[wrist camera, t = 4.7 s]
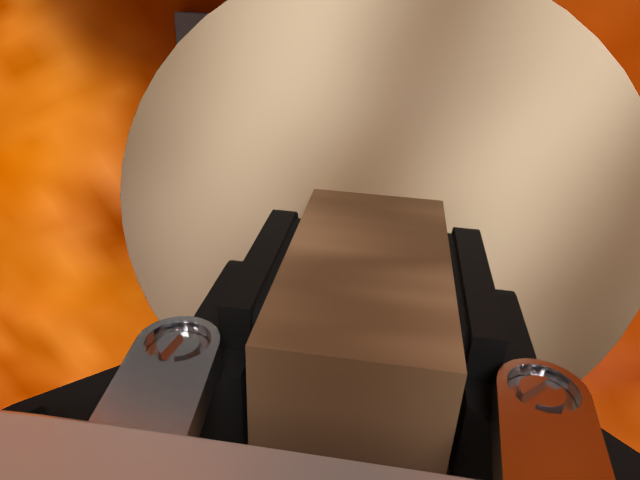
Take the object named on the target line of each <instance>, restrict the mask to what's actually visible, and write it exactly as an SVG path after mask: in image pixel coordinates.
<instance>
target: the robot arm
mask: <svg viewBox="0 0 640 480" xmlns="http://www.w3.org/2000/svg"><path fill="white" fill-rule="evenodd" d="M300 220H301V218H298V213H297V212H295V211H285V210H275V209H273V210H272V211H271V213H270V215H269V217H268V218H267V220H266V222H265V224H264V225H263V227H262V229H261V231H260V232H259V234H258V236H257V238H256V239H255V241H254V243H253V245H252V246H251V248H250V250H249V252H248V253H247V255H246V257H245V259H244V260H243V261H236V260H229V261H228V263H227V264H226V265H225V267H224V269H223V270H222V272H221V273H220V275H219V277H218V278H217V280H216V281H215V283H214V285H213V286H212V288H211V289H210V291H209V293H208V294H207V296H206V297H205V299H204V301H203V302H202V304H201V305H200V307H199V309H198V310H197V312H196V313H195V315H194V317H192V316H176V317H171V318H166V319H163V320H160V321H158V322H155V323H153V324H151V325H150V326H148V327H147V328H145V329H144V330H143V331H142V332H141V333H140V334H139V335H138V337H137V338H136V340H135V341H134V343H133V345H132V346H131V348H130V350H129V352H128V353H127V355H126V357H125V358H124V360H123V362H122V364H121V365H119V366H116V367H114V368H111V369H108V370H105V371H103V372H100V373H97V374H95V375H92V376H89V377H86V378H84V379H81V380H78V381H75V382H73V383H70V384H67V385H65V386H62V387H59V388H56V389H54V390H51V391H48V392H45V393H43V394H40V395H37V396H35V397H32V398H29V399H26V400H24V401H21V402H18V403H15V404H13V405H11V406H9V407H6V408H4V409H2V410H0V480H640V453H638V452H637V451H635V450H634V449H632V448H631V447H629V446H627V445H626V444H624V443H623V442H621V441H620V440H618V439H617V438H615V437H614V436H612V435H611V434H609V433H608V432H606V431H605V430H603V429H602V428H601V427H600V423H599V420H598V416H597V413H596V409H595V406H594V402H593V399H592V396H591V394H590V392H589V390H588V388H587V386H586V385H585V384H584V383H583V382H582V381H581V380H580V379H579V378H578V377H577V376H575V375H574V374H572V373H571V372H569V371H568V370H567V369H565V368H562V367H560V366H558V365H556V364H554V363H551V362H547V361H543V360H540V359H537V357H536V354H535V351H534V348H533V345H532V342H531V339H530V336H529V333H528V329H527V326H526V323H525V320H524V317H523V314H522V311H521V308H520V305H519V302H518V299H517V296H516V294H515V292H514V291H508V290H499V289H495V286H494V282H493V278H492V274H491V271H490V267H489V263H488V259H487V255H486V252H485V248H484V244H483V240H482V237H481V233H480V230H479V229H469V228H458V227H453V229H452V233H447V234H448V241H449V248H450V255H451V262H452V269H453V276H454V283H455V290H456V297H457V305H458V312H459V319H460V326H461V333H462V340H463V347H464V354H465V361H466V368H467V378H466V383H465V387H464V392H463V397H462V402H461V406H460V411H459V416H458V420H457V425H456V430H455V435H454V439H453V444H452V449H451V454H450V458H449V463H448V468H447V472H446V475H445V474H439V473H432V472H425V471H419V470H412V469H405V468H399V467H392V466H385V465H379V464H372V463H365V462H359V461H352V460H345V459H339V458H332V457H325V456H319V455H312V454H305V453H299V452H292V451H286V450H279V449H272V448H266V447H259V446H252V445H248V421H247V387H246V354H245V345H246V343H247V340H248V338H249V336H250V334H251V331H252V329H253V327H254V325H255V322H256V320H257V318H258V315H259V313H260V311H261V309H262V306H263V304H264V302H265V300H266V297H267V295H268V293H269V290H270V288H271V286H272V284H273V281H274V279H275V277H276V275H277V272H278V270H279V268H280V265H281V263H282V261H283V259H284V256H285V254H286V252H287V250H288V247H289V245H290V243H291V240H292V238H293V236H294V234H295V231H296V229H297V227H298V225H299V222H300Z"/></svg>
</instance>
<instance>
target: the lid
mask: <svg viewBox="0 0 640 480" xmlns="http://www.w3.org/2000/svg"><path fill="white" fill-rule="evenodd" d="M120 198H121V211H122V225H123V230H124V235H125V239H126V244H127V249H128V254H129V257H130V260H131V262H132V265H133V268H134V271H135V274H136V277H137V280H138V282H139V284H140V286H141V288H142V290H143V293H144V295H145V297H146V299H147V301H148V303H149V305H150V307H151V308H152V310H153V312H154V313H155V315H156V316H157V318H158V319H159V321H160V320H163V319H166V318H171V317H176V316H192V317H194V315H195V313H196V312H197V310H198V309H199V307H200V305H201V304H202V302H203V301H204V299H205V297H206V296H207V294H208V293H209V291H210V289H211V288H212V286H213V285H214V283H215V281H216V280H217V278H218V277H219V275H220V273H221V272H222V270H223V269H224V267H225V265H226V264H227V263H228V261H229V260H236V261H243V260H244V259H245V257H246V255H247V253H248V252H249V250H250V248H251V246H252V245H253V243H254V241H255V239H256V238H257V236H258V234H259V232H260V231H261V229H262V227H263V225H264V224H265V222H266V220H267V218H268V217H269V215H270V213H271V211H272V210H273V209H275V210H285V211H295V212H297V213H298V218H301V220H300V222H299V225H298V227H297V229H296V231H295V234H294V236H293V238H292V240H291V243H290V245H289V247H288V250H287V252H286V254H285V256H284V259H283V261H282V263H281V265H280V268H279V270H278V272H277V275H276V277H275V279H274V281H273V284H272V286H271V288H270V290H269V293H268V295H267V297H266V300H265V302H264V304H263V306H262V309H261V311H260V313H259V315H258V318H257V320H256V322H255V325H254V327H253V329H252V331H251V334H250V336H249V338H248V340H247V343H246V345H245V354H246V387H247V421H248V445H252V446H259V447H266V448H272V449H279V450H286V451H292V452H299V453H305V454H312V455H319V456H325V457H332V458H339V459H345V460H352V461H359V462H365V463H372V464H379V465H385V466H392V467H399V468H405V469H412V470H419V471H425V472H432V473H439V474H445V475H446V472H447V468H448V463H449V458H450V454H451V449H452V444H453V439H454V435H455V430H456V425H457V420H458V416H459V411H460V406H461V402H462V397H463V392H464V387H465V383H466V378H467V368H466V361H465V354H464V347H463V340H462V333H461V326H460V319H459V312H458V305H457V297H456V290H455V283H454V276H453V269H452V262H451V255H450V248H449V241H448V234H447V233H452V229H453V227H458V228H469V229H479V230H480V233H481V237H482V240H483V244H484V248H485V252H486V255H487V259H488V263H489V267H490V271H491V274H492V278H493V282H494V286H495V289H499V290H508V291H514V292H515V294H516V296H517V299H518V302H519V305H520V308H521V311H522V314H523V317H524V320H525V323H526V326H527V329H528V333H529V336H530V339H531V342H532V345H533V348H534V351H535V354H536V357H537V359H540V360H543V361H547V362H551V363H554V364H556V365H558V366H560V367H562V368H565V369H567V370H568V371H569V372H571V373H572V374H574V375H575V376H577V377H578V378H579V379H580V380H581V379H582V378H583V377H584V376H585V375H586V374H588V373H589V372H590V371H591V370H592V369H593V368H594V367H595V366H596V365H597V364H599V363H600V362H601V360H602V359H603V358H604V357H605V356H606V355H607V353H608V352H609V351H610V350H611V349H612V348H613V346H614V345H615V344H616V343H617V342H618V340H619V339H620V338H621V337H622V335H623V334H624V332H625V330H626V329H627V327H628V326H629V324H630V323H631V321H632V320H633V318H634V316H635V315H636V313H637V312H638V310H639V308H640V97H639V95H638V93H637V91H636V90H635V88H634V86H633V84H632V83H631V81H630V79H629V77H628V76H627V74H626V72H625V71H624V69H623V68H622V67H621V66H620V64H619V63H618V62H617V61H616V59H615V58H614V57H613V56H612V55H611V53H610V52H609V51H608V50H607V48H606V47H605V46H604V45H603V44H602V42H601V41H600V40H599V39H598V38H597V37H596V36H595V35H594V34H593V33H592V32H591V31H589V30H588V29H587V28H586V27H585V26H584V25H583V24H582V23H580V22H579V21H578V20H577V19H576V18H575V17H574V16H573V15H571V14H570V13H569V12H568V11H567V10H565V9H564V8H562V7H561V6H559V5H558V4H556V3H555V2H553V1H551V0H227V1H226V2H224V3H223V4H222V5H220V6H219V7H217V8H216V9H215V10H213V11H212V12H211V13H209V14H208V15H206V16H205V17H204V18H203V19H202V20H201V21H200V22H199V23H198V24H197V25H196V26H195V27H194V28H193V29H192V30H191V31H190V32H189V33H188V34H187V35H186V36H185V37H184V38H183V39H182V40H180V41H179V42H178V44H177V45H176V46H175V48H174V49H173V50H172V52H171V53H170V54H169V56H168V57H167V58H166V60H165V61H164V62H163V64H162V65H161V66H160V68H159V69H158V70H157V72H156V73H155V75H154V77H153V79H152V81H151V83H150V84H149V86H148V88H147V90H146V92H145V94H144V96H143V97H142V99H141V101H140V103H139V106H138V109H137V112H136V114H135V117H134V120H133V123H132V125H131V128H130V131H129V134H128V139H127V144H126V149H125V153H124V158H123V163H122V176H121V192H120Z"/></svg>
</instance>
